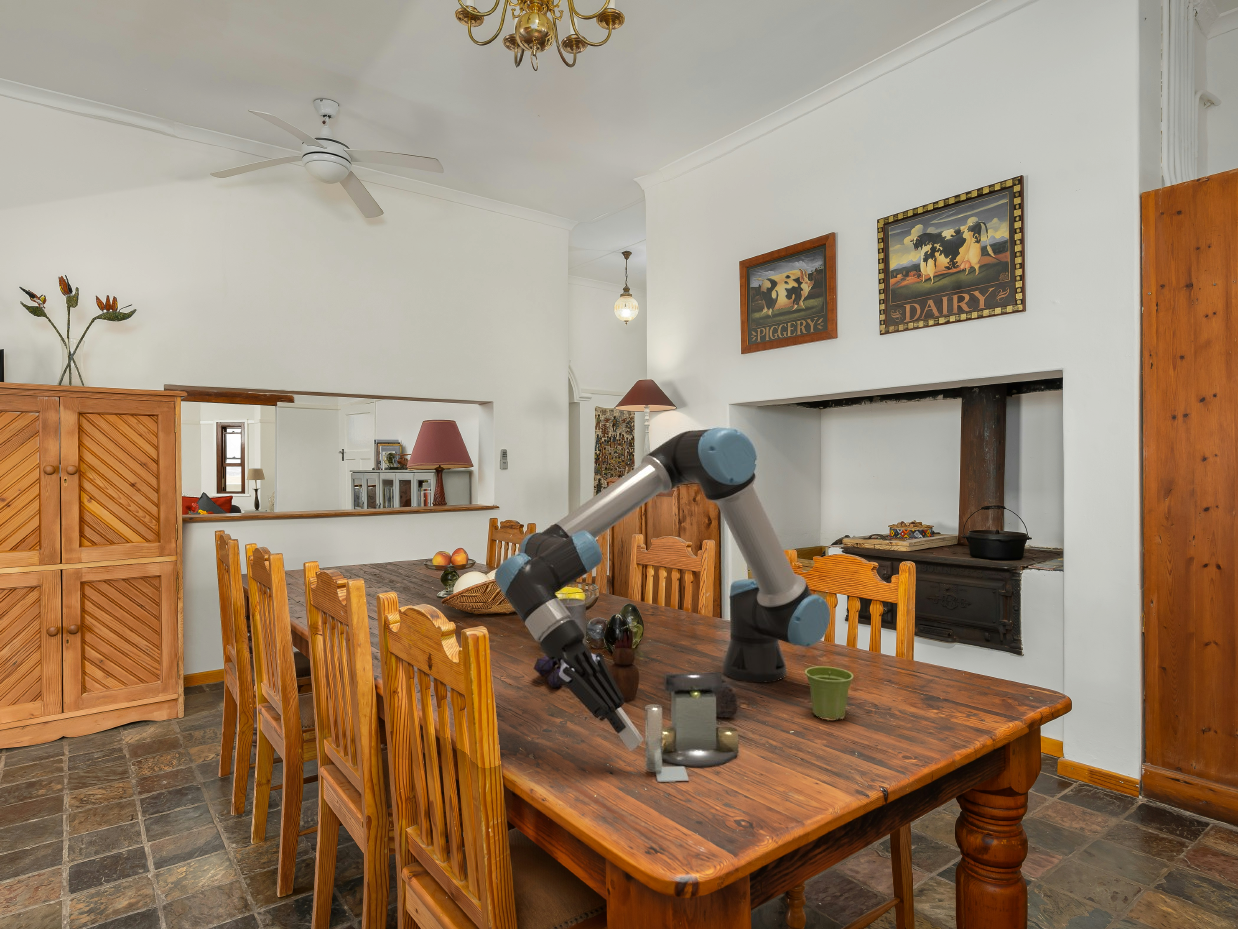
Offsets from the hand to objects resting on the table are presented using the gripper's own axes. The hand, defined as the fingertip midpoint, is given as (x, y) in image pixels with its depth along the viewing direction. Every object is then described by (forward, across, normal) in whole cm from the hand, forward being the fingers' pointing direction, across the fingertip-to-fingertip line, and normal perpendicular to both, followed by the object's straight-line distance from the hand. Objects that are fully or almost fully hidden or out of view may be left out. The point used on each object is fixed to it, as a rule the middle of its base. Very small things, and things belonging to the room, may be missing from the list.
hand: (637, 745), depth 112 cm
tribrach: (+6, -14, +1) cm, 15 cm away
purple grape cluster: (-24, -36, -30) cm, 53 cm away
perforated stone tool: (+4, -34, -1) cm, 35 cm away
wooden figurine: (-10, -32, -16) cm, 37 cm away
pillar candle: (-32, -59, -37) cm, 77 cm away
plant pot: (+19, -41, +15) cm, 47 cm away
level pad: (+7, -2, +1) cm, 7 cm away
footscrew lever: (+4, -5, -1) cm, 6 cm away
